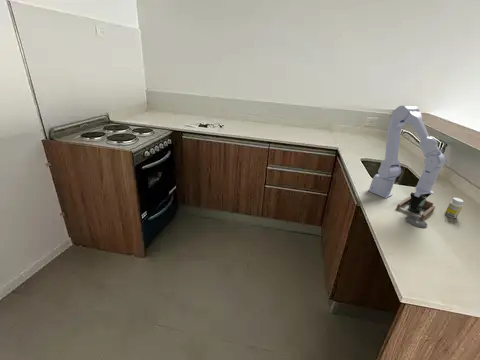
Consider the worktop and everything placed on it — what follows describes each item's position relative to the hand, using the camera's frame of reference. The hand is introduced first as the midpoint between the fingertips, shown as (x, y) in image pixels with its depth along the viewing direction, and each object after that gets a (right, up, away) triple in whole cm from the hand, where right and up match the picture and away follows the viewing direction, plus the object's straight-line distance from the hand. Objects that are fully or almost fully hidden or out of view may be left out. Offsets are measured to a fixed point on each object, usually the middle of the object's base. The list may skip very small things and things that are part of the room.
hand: (415, 206), depth 127 cm
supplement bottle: (+17, -4, +1) cm, 17 cm away
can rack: (0, -2, +2) cm, 2 cm away
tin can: (0, -2, +1) cm, 2 cm away
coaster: (-6, -6, -9) cm, 12 cm away
